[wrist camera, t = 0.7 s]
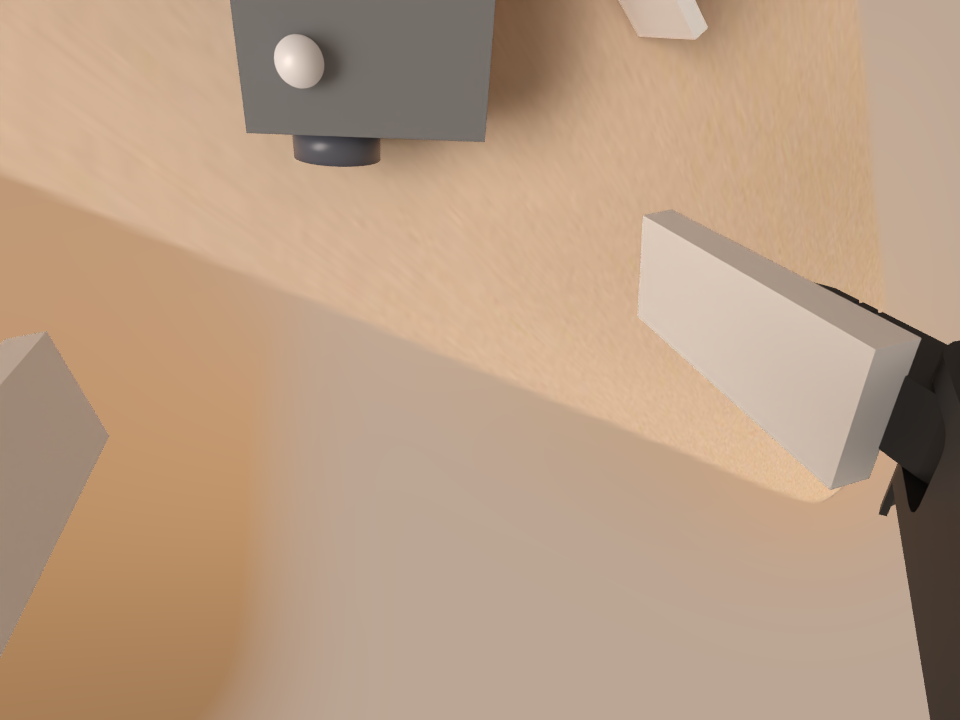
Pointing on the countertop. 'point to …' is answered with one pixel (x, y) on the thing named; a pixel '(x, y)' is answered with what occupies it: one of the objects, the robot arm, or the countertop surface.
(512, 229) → the countertop surface
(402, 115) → the camera case
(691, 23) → the side door
